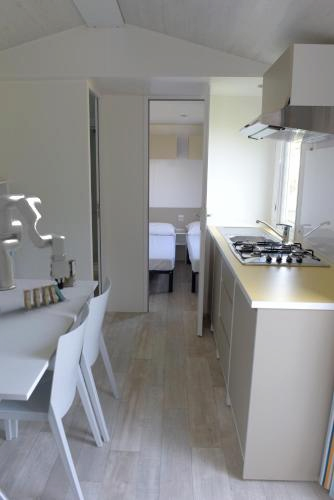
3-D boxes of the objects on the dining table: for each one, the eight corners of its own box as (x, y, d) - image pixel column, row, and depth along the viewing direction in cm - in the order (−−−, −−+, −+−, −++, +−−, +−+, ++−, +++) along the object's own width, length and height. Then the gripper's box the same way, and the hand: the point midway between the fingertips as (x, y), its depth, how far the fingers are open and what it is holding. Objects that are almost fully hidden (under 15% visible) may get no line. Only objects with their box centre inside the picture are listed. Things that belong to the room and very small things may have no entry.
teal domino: (58, 298, 217) (50, 285, 212) (61, 296, 218) (53, 283, 213) (62, 301, 213) (54, 287, 208) (65, 299, 214) (57, 285, 209)
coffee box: (76, 283, 246) (75, 259, 243) (73, 286, 240) (72, 262, 236) (63, 283, 247) (62, 259, 243) (59, 286, 241) (58, 261, 237)
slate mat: (19, 307, 204) (19, 306, 204) (63, 297, 221) (63, 296, 221) (25, 312, 197) (25, 311, 197) (71, 301, 214) (71, 300, 214)
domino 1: (24, 307, 204) (23, 289, 201) (27, 306, 205) (26, 288, 203) (28, 309, 200) (26, 291, 198) (31, 308, 201) (30, 291, 199)
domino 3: (42, 302, 210) (41, 285, 208) (45, 302, 211) (44, 285, 209) (46, 305, 207) (45, 287, 204) (49, 304, 208) (48, 287, 206)
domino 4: (50, 300, 213) (47, 284, 210) (53, 299, 215) (50, 283, 211) (54, 303, 210) (51, 287, 207) (57, 302, 211) (54, 285, 208)
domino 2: (33, 304, 207) (32, 287, 205) (36, 304, 208) (35, 286, 206) (37, 307, 203) (36, 289, 201) (40, 306, 204) (39, 289, 202)
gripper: (49, 261, 202) (51, 293, 206) (74, 256, 212) (75, 288, 216) (43, 258, 207) (45, 290, 211) (68, 254, 217) (69, 284, 221)
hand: (60, 288), depth 214 cm, fingers closed
